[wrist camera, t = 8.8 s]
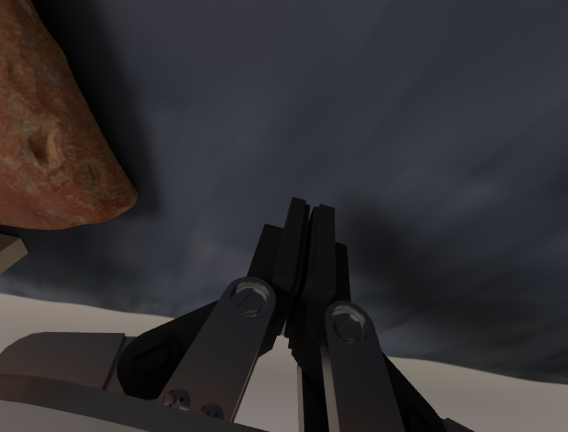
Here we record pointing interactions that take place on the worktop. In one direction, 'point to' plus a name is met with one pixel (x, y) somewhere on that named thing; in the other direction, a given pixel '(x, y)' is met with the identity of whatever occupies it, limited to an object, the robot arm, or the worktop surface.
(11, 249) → the overhang bay
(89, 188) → the ceramic shard
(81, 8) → the worktop surface
